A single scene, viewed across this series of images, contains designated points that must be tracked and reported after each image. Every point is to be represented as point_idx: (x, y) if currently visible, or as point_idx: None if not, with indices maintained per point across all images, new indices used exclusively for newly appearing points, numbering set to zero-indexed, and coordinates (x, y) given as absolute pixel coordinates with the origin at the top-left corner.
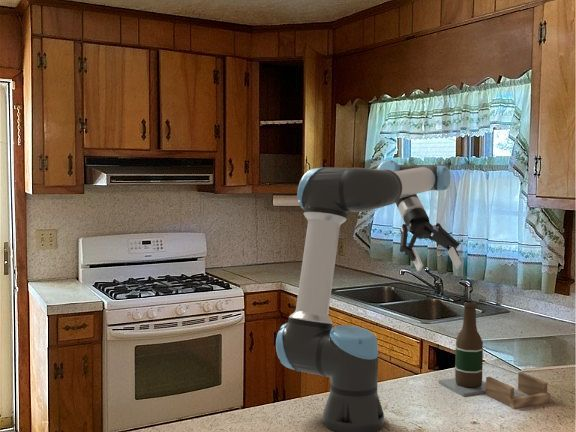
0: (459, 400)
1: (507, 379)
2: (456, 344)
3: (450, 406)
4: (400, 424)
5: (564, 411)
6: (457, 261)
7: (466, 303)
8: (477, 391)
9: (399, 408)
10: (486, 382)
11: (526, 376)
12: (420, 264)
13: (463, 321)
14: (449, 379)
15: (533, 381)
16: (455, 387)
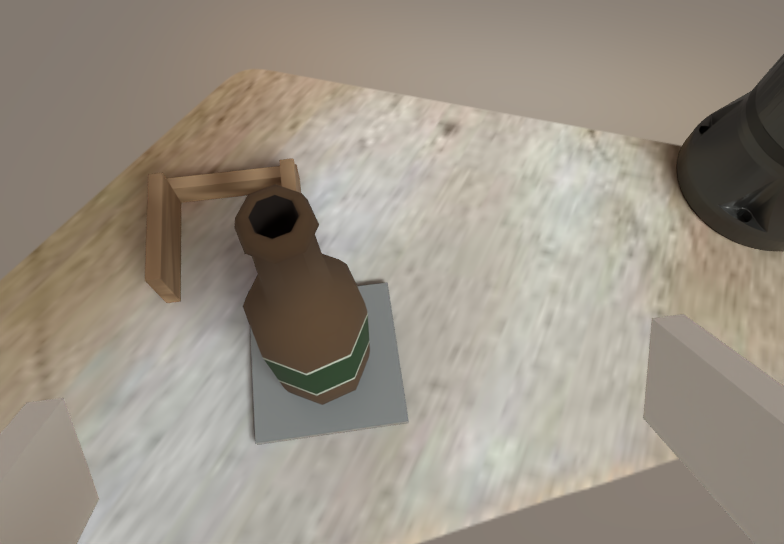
0: (415, 260)
1: (137, 405)
2: (357, 333)
3: (462, 225)
4: (635, 152)
5: (181, 138)
6: (47, 453)
7: (305, 206)
8: None
9: (612, 241)
10: None
11: (161, 243)
12: (697, 325)
13: (318, 283)
14: (364, 420)
15: (164, 216)
16: (385, 337)
